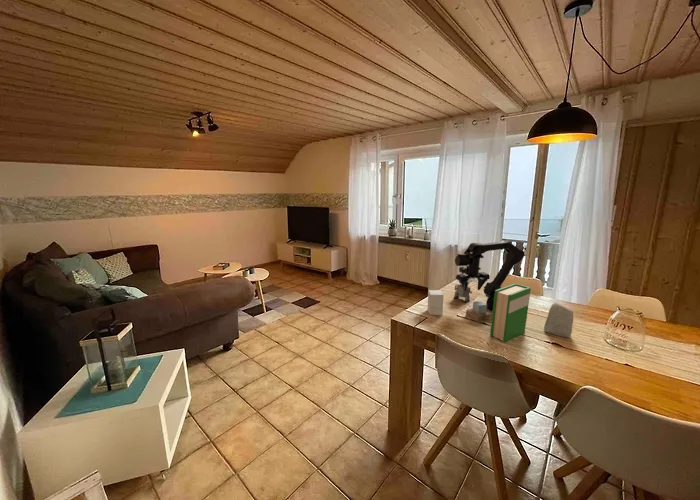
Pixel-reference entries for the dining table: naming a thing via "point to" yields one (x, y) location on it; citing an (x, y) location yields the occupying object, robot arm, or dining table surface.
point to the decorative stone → (559, 321)
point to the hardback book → (510, 312)
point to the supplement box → (435, 302)
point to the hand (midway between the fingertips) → (471, 290)
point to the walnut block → (478, 316)
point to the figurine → (461, 292)
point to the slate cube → (479, 307)
